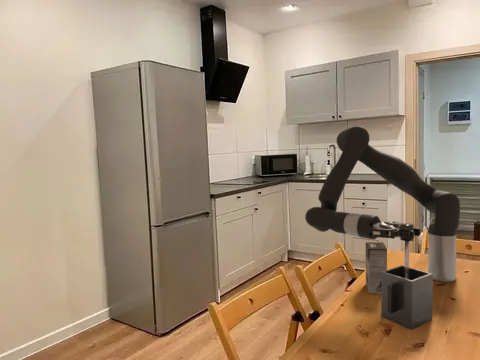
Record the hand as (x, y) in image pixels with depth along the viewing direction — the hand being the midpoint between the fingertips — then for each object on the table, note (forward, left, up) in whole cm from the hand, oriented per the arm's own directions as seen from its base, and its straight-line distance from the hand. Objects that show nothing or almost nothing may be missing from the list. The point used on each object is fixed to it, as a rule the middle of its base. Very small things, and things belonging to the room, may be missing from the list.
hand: (416, 233), depth 107 cm
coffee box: (-12, -23, -26) cm, 37 cm away
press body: (+2, -3, -26) cm, 26 cm away
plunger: (0, -3, -19) cm, 19 cm away
